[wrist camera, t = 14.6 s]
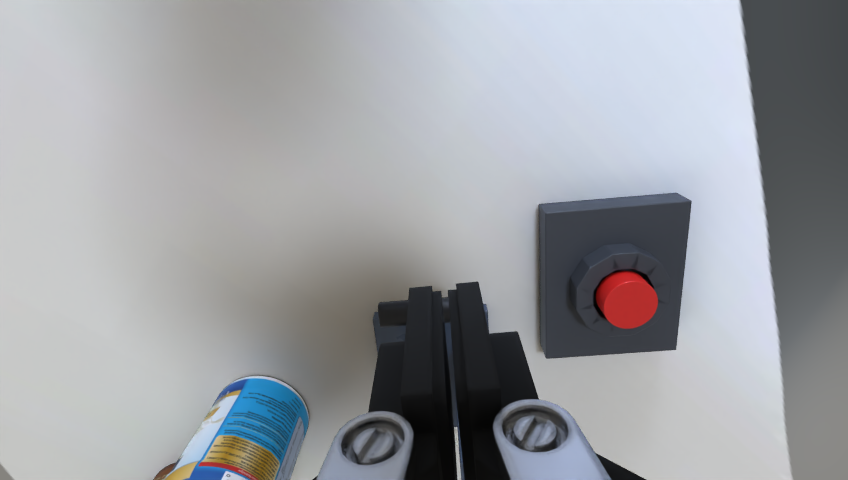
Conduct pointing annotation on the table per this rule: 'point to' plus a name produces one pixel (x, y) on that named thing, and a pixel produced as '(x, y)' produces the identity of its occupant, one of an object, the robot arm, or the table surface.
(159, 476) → the food container
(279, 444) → the beverage bottle
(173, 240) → the table surface
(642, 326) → the button housing
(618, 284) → the stop button
